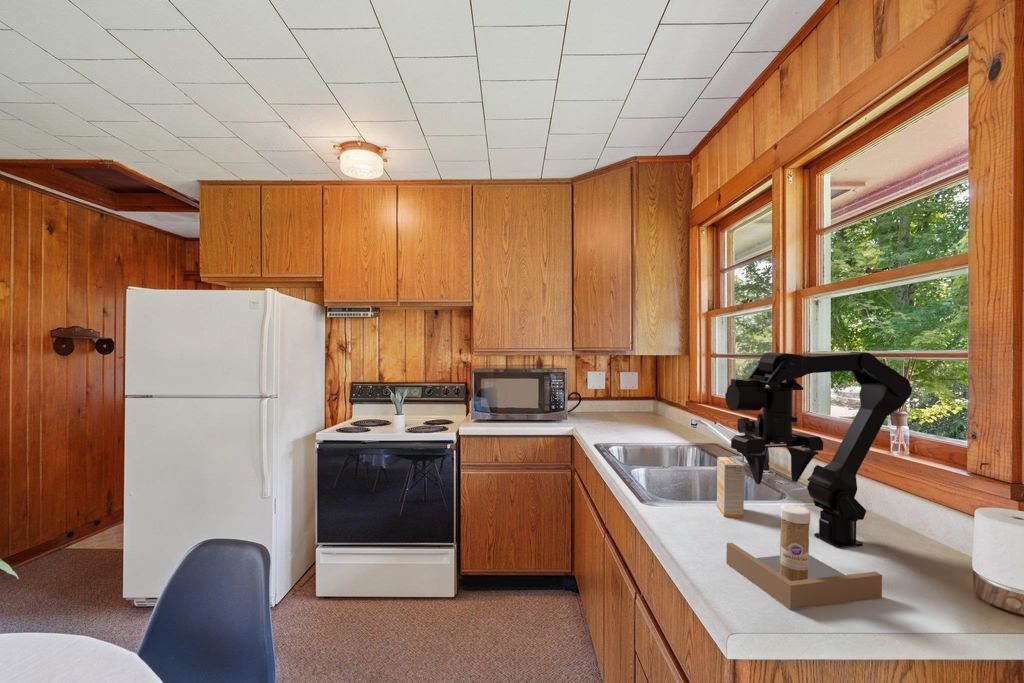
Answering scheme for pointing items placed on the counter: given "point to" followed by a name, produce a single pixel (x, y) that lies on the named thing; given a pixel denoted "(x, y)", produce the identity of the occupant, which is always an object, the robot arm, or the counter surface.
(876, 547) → the counter surface
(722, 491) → the supplement box
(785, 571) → the sprinkles bottle
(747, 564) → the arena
